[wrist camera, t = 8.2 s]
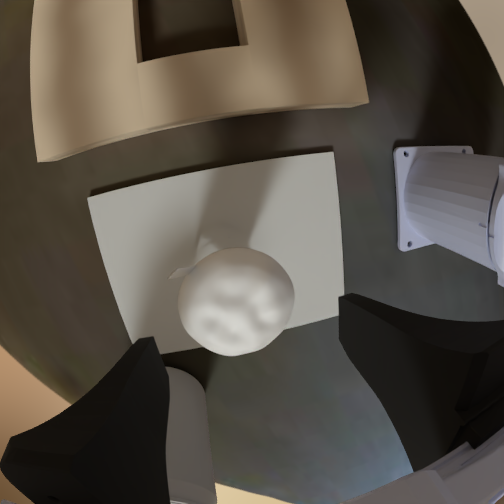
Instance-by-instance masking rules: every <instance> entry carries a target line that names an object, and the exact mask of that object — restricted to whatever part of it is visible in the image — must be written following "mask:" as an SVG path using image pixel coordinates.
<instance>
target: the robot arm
mask: <svg viewBox="0 0 504 504" xmlns="http://www.w3.org/2000/svg"><path fill="white" fill-rule="evenodd" d="M404 151H405V152H406V155H405V156H404ZM462 151H463V153H462ZM393 155H394V166H395V179H396V195H397V223H398V248H399V250H401V251H408V250H411V249H415V248H419V247H423V246H427V245H430V244H434V243H436V244H439V245H441V246H443V247H445V248H448V249H450V250H452V251H454V252H456V253H459V254H461V255H463V256H465V257H467V258H469V259H471V260H474V261H476V262H478V263H480V264H482V265H484V266H486V267H488V268H490V269H492V270H494V271H496V272H497V273H498V284H499V285H501V286H503V287H504V158H503V157H495V156H486V155H476V154H473V149H472V147H471V146H414V147H397V148H395V149H394V152H393ZM408 242H409V245H408V246H407V244H408ZM338 307H339V340H340V342H341V344H342V346H343V348H344V350H345V352H346V354H347V355H348V357H349V359H350V360H351V362H352V363H353V364H354V366H355V367H356V368H357V370H358V371H359V372H360V374H361V375H362V376H363V378H364V379H365V380H366V382H367V383H368V384H369V386H370V387H371V389H372V390H373V391H374V393H375V394H376V395H377V397H378V398H379V400H380V401H381V403H382V405H383V407H384V408H385V410H386V412H387V414H388V416H389V418H390V419H391V421H392V423H393V425H394V427H395V429H396V431H397V433H398V435H399V437H400V440H401V442H402V444H403V446H404V449H405V451H406V453H407V456H408V458H409V461H410V463H411V466H412V469H413V471H414V473H411V474H409V475H406V476H404V477H401V478H399V479H397V480H395V481H393V482H391V483H389V484H386V485H384V486H382V487H380V488H377V489H375V490H373V491H370V492H368V493H366V494H363V495H361V496H358V497H355V498H353V499H350V500H347V501H345V502H342V503H339V504H494V503H495V502H496V501H497V500H499V499H500V498H501V497H502V496H503V495H504V320H500V321H489V322H466V321H454V320H445V319H438V318H433V317H428V316H423V315H419V314H415V313H411V312H408V311H404V310H401V309H398V308H395V307H392V306H389V305H386V304H384V303H381V302H378V301H375V300H372V299H370V298H367V297H364V296H361V295H358V294H354V293H350V294H347V295H343V296H339V297H338ZM169 404H170V384H169V375H168V373H167V370H166V368H165V365H164V363H163V360H162V358H161V355H160V352H159V350H158V347H157V344H156V342H155V339H154V336H151V337H144V338H139V339H138V340H137V341H136V342H135V343H134V344H133V345H132V346H131V347H130V348H129V349H128V351H127V352H126V353H125V354H124V355H123V356H122V358H121V359H120V360H119V361H118V362H117V363H116V364H115V366H114V367H113V368H112V369H111V370H110V371H109V372H108V373H107V374H106V375H105V376H104V377H103V378H102V379H101V380H100V381H99V383H98V384H97V385H95V386H94V387H93V388H92V389H91V390H90V391H89V392H88V393H87V394H85V395H84V396H83V397H82V398H81V399H79V400H78V401H77V402H76V403H74V404H73V405H71V406H70V407H68V408H67V409H66V410H64V411H63V412H61V413H60V414H58V415H57V416H55V417H53V418H52V419H50V420H48V421H46V422H44V423H42V424H41V425H39V426H37V427H34V428H32V429H30V430H28V431H25V432H23V433H20V434H18V435H15V436H12V437H11V438H10V440H9V442H8V445H7V447H6V449H5V452H4V454H3V456H2V459H1V462H0V468H1V471H2V473H3V474H4V476H5V477H6V478H7V479H8V480H9V482H11V484H13V485H14V486H15V487H16V488H17V489H18V490H19V491H20V492H22V493H23V494H24V495H25V496H26V497H27V498H29V499H30V500H31V501H32V502H33V503H35V504H171V503H170V496H169V488H168V478H167V466H166V437H167V426H168V415H169ZM1 504H16V503H13V502H10V501H7V500H2V502H1Z"/></svg>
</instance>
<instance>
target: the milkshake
mask: <svg viewBox="0 0 504 504" xmlns="http://www.w3.org/2000/svg"><path fill="white" fill-rule="evenodd" d="M181 276H185V277H184V280H183V282H182V285H181V287H180V290H179V295H178V311H179V315H180V319H181V322H182V324H183V326H184V328H185V330H186V331H187V333H188V334H189V335H190V336H191V337H192V338H193V339H194V340H196V341H197V342H198V343H199V344H201V345H202V346H203V347H205V348H206V349H208V350H210V351H212V352H215V353H217V354H221V355H225V356H237V355H242V354H246V353H250V352H254V351H258V350H260V349H262V348H264V347H265V346H267V345H268V344H269V343H270V342H271V341H273V340H274V339H275V338H276V337H277V336H278V335H279V334H280V333H281V332H282V331H283V329H284V328H285V326H286V325H287V323H288V321H289V319H290V316H291V313H292V310H293V306H294V299H295V293H294V287H293V284H292V281H291V279H290V277H289V275H288V274H287V272H286V271H285V270H284V268H283V267H282V266H281V265H280V264H279V263H278V262H277V261H276V260H274V259H273V258H272V257H270V256H269V255H268V254H266V253H265V252H264V251H262V250H261V249H260V248H258V247H257V246H256V245H254V244H253V243H251V242H250V241H249V240H247V239H246V238H245V237H244V236H243V235H242V234H241V233H240V232H239V231H238V230H237V229H236V228H234V227H233V226H232V225H223V224H214V225H212V226H211V227H209V228H207V229H205V230H203V231H202V232H201V233H200V236H199V238H198V240H197V242H196V244H195V246H194V250H193V253H192V257H191V260H190V264H189V267H183V268H177V269H175V270H174V271H173V272H172V273H171V274H170V276H169V277H168V278H167V280H169V279H173V278H177V277H181Z"/></svg>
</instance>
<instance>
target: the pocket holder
mask: <svg viewBox="0 0 504 504" xmlns="http://www.w3.org/2000/svg"><path fill="white" fill-rule="evenodd" d="M232 3H233V9H234V14H235V20H236V25H237V31H238V36H239V42H240V46H235V47H225V48H217V49H209V50H202V51H196V52H190V53H184V54H179V55H173V56H168V57H164V58H159V59H154V60H150V61H146V62H143V58H142V48H141V37H140V25H139V11H138V0H35V2H34V10H33V19H32V32H31V52H30V84H31V105H32V118H33V129H34V138H35V146H36V153H37V160H38V162H48V161H57V160H60V159H63V158H65V157H68V156H71V155H74V154H77V153H80V152H83V151H86V150H90V149H93V148H96V147H99V146H103V145H106V144H110V143H113V142H117V141H120V140H124V139H128V138H132V137H136V136H139V135H144V134H148V133H152V132H156V131H161V130H165V129H170V128H174V127H179V126H184V125H189V124H195V123H200V122H206V121H212V120H218V119H224V118H231V117H238V116H245V115H253V114H261V113H270V112H280V111H292V110H305V109H323V108H351V107H355V106H358V105H362V104H366V103H369V99H368V93H367V88H366V82H365V77H364V72H363V67H362V63H361V58H360V54H359V49H358V45H357V41H356V37H355V33H354V29H353V25H352V21H351V18H350V14H349V11H348V7H347V4H346V0H232Z"/></svg>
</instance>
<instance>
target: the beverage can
mask: <svg viewBox="0 0 504 504" xmlns="http://www.w3.org/2000/svg"><path fill="white" fill-rule="evenodd" d="M165 368H166V370H167V373H168V375H169V384H170V404H169V415H168V426H167V437H166V466H167V478H168V488H169V496H170V503H171V504H217V496H216V489H215V482H214V474H213V466H212V457H211V448H210V439H209V429H208V419H207V408H206V396H205V392H204V389H203V387H202V385H201V384H200V383H199V382H198V380H197V379H195V378H194V377H193V376H192V375H190V374H188V373H186V372H184V371H182V370H179V369H176V368H172V367H165Z"/></svg>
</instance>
